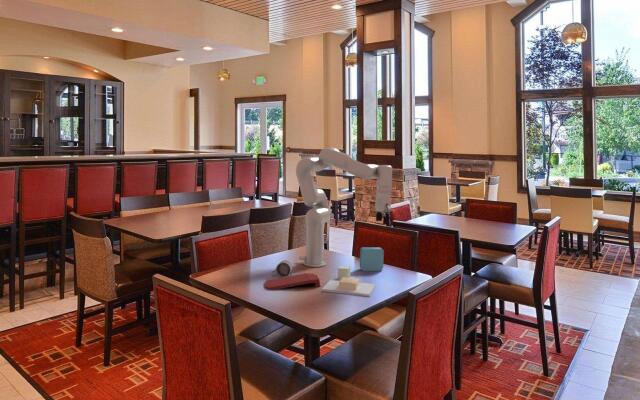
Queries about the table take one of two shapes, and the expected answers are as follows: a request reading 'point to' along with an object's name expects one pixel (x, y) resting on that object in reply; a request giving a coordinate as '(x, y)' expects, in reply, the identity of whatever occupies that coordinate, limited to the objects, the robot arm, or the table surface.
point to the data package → (371, 259)
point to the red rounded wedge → (292, 281)
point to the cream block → (343, 272)
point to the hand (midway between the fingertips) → (382, 222)
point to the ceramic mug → (283, 269)
